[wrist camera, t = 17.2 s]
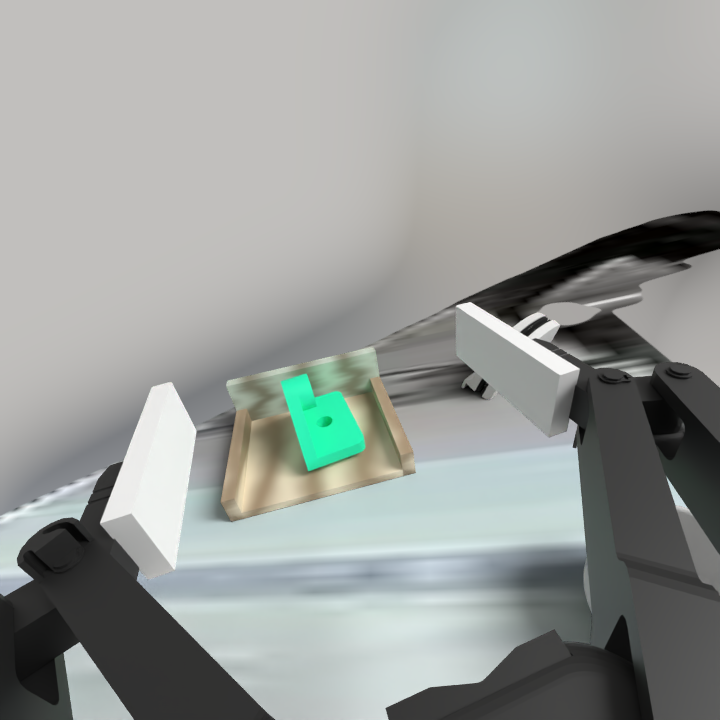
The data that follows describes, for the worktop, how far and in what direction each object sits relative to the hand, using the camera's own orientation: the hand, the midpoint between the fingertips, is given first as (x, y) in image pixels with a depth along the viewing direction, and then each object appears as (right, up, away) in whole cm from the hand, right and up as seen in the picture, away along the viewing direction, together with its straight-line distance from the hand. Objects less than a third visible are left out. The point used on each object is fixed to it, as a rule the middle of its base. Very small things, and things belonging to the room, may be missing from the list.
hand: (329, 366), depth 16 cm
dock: (-4, -11, +34) cm, 36 cm away
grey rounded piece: (+26, -2, +40) cm, 48 cm away
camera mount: (-3, -10, +33) cm, 35 cm away
